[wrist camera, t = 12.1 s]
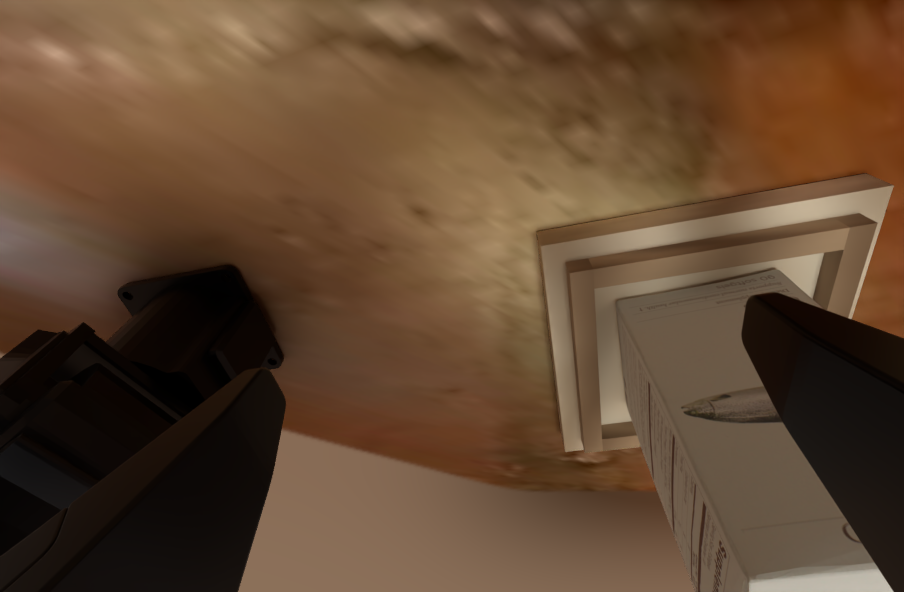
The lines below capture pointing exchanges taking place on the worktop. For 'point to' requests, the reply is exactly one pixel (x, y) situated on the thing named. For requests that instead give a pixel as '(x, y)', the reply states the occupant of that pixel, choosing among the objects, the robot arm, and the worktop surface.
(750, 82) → the worktop surface
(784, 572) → the supplement box
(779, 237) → the display stand
